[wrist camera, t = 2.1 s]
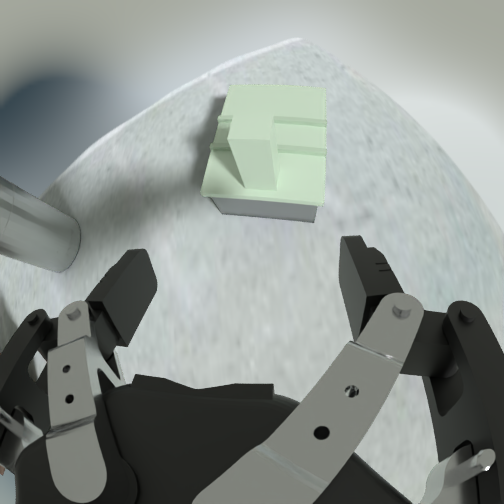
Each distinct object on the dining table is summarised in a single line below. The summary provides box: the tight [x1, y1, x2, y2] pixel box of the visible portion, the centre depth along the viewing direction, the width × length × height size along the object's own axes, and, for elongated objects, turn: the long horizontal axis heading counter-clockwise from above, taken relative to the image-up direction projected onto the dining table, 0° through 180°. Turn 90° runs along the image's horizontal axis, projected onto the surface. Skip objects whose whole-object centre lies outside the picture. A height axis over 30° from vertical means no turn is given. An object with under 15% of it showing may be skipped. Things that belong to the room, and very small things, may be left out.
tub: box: [211, 197, 317, 223], centre depth 31 cm, size 11×15×6 cm
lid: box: [200, 85, 327, 206], centre depth 24 cm, size 12×16×9 cm
